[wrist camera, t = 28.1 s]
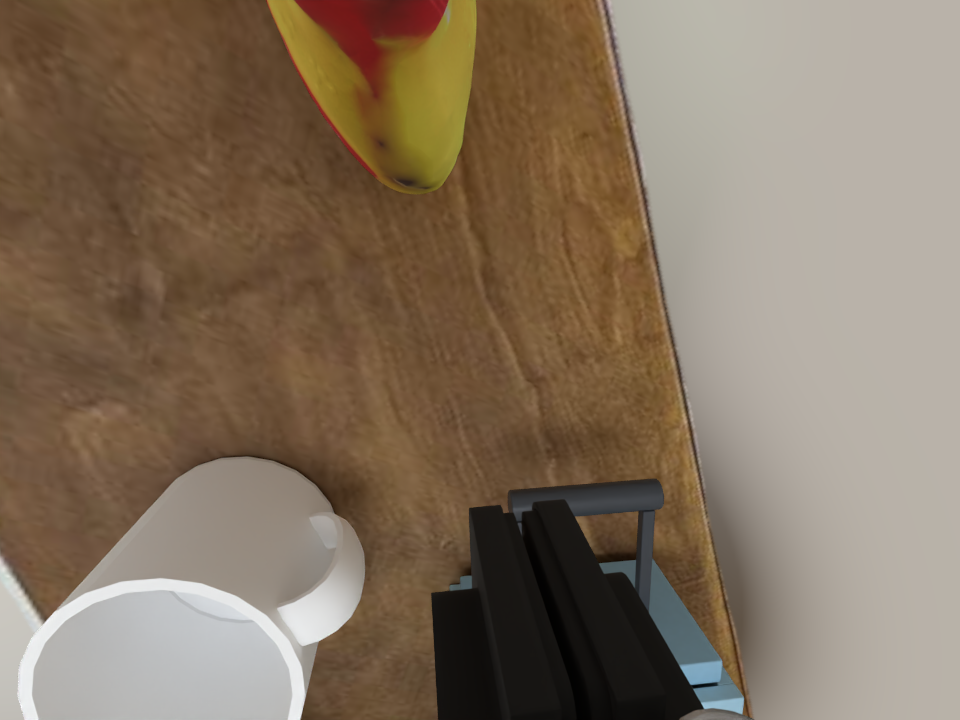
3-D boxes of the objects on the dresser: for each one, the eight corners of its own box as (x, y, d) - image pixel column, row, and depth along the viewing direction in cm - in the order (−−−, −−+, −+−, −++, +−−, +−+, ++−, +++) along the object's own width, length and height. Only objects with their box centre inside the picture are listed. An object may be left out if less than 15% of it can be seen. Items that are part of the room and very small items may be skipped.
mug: (214, 641, 32) (122, 836, 22) (112, 502, 29) (-46, 652, 19) (412, 551, 32) (410, 706, 22) (329, 403, 29) (284, 502, 19)
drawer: (454, 451, 29) (466, 532, 22) (660, 436, 30) (739, 508, 23) (467, 759, 35) (481, 909, 27) (641, 737, 36) (701, 875, 28)
